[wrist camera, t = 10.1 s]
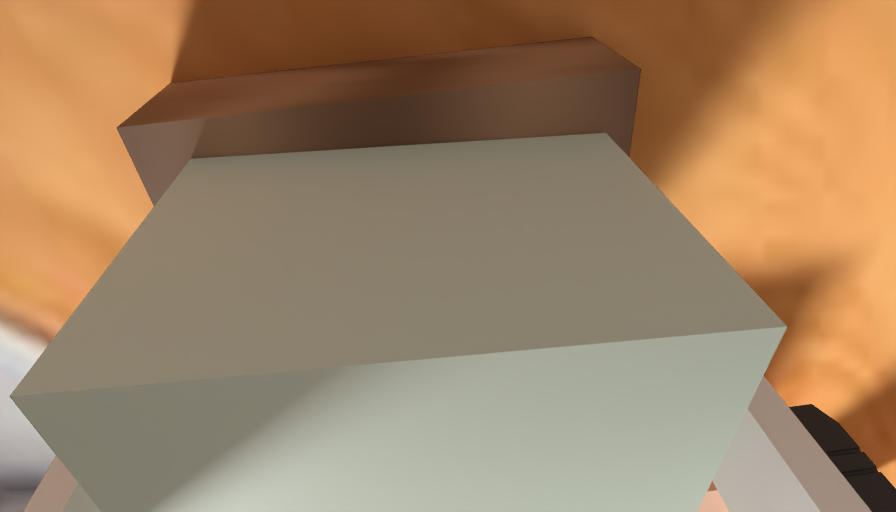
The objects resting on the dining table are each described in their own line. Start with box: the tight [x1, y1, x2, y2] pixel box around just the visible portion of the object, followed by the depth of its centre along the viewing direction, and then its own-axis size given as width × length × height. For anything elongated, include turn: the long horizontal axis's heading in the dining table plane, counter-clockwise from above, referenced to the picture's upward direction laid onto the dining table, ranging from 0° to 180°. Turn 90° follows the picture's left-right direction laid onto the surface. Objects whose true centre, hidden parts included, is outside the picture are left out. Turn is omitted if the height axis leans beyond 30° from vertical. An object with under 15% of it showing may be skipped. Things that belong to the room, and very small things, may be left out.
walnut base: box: [117, 37, 641, 206], centre depth 17 cm, size 12×12×4 cm
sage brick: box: [10, 133, 787, 512], centre depth 12 cm, size 10×10×7 cm
